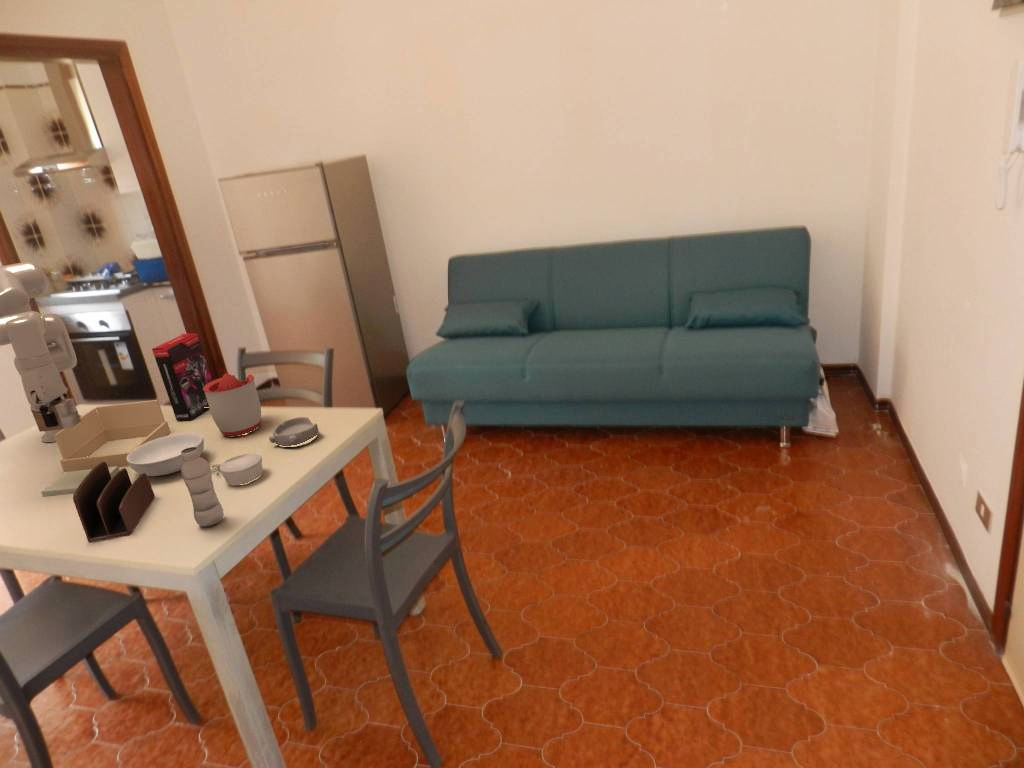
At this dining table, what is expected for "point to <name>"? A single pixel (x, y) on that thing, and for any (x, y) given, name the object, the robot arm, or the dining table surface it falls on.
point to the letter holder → (111, 502)
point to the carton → (109, 433)
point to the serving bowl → (163, 454)
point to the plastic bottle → (201, 488)
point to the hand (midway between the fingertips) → (58, 421)
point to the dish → (294, 431)
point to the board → (71, 481)
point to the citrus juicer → (234, 404)
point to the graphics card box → (184, 375)
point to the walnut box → (59, 415)
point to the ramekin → (242, 468)
